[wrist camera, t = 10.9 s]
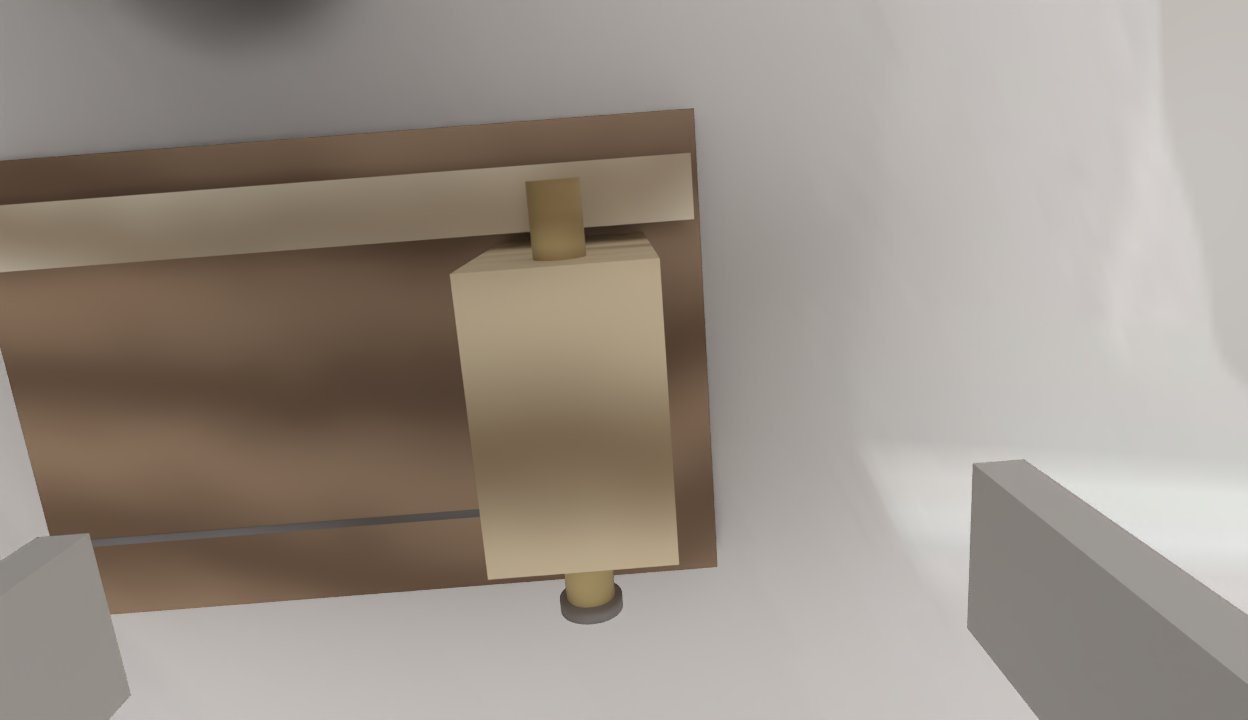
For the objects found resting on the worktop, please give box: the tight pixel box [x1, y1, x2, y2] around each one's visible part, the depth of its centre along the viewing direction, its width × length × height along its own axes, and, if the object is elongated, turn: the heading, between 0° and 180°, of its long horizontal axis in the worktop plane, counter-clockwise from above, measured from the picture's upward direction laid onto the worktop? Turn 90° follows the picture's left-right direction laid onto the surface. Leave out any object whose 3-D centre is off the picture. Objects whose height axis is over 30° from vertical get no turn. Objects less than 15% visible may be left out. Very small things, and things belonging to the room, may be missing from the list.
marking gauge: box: [450, 177, 679, 624], centre depth 24 cm, size 12×5×9 cm, turn 4°
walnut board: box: [0, 108, 717, 614], centre depth 28 cm, size 17×25×5 cm
